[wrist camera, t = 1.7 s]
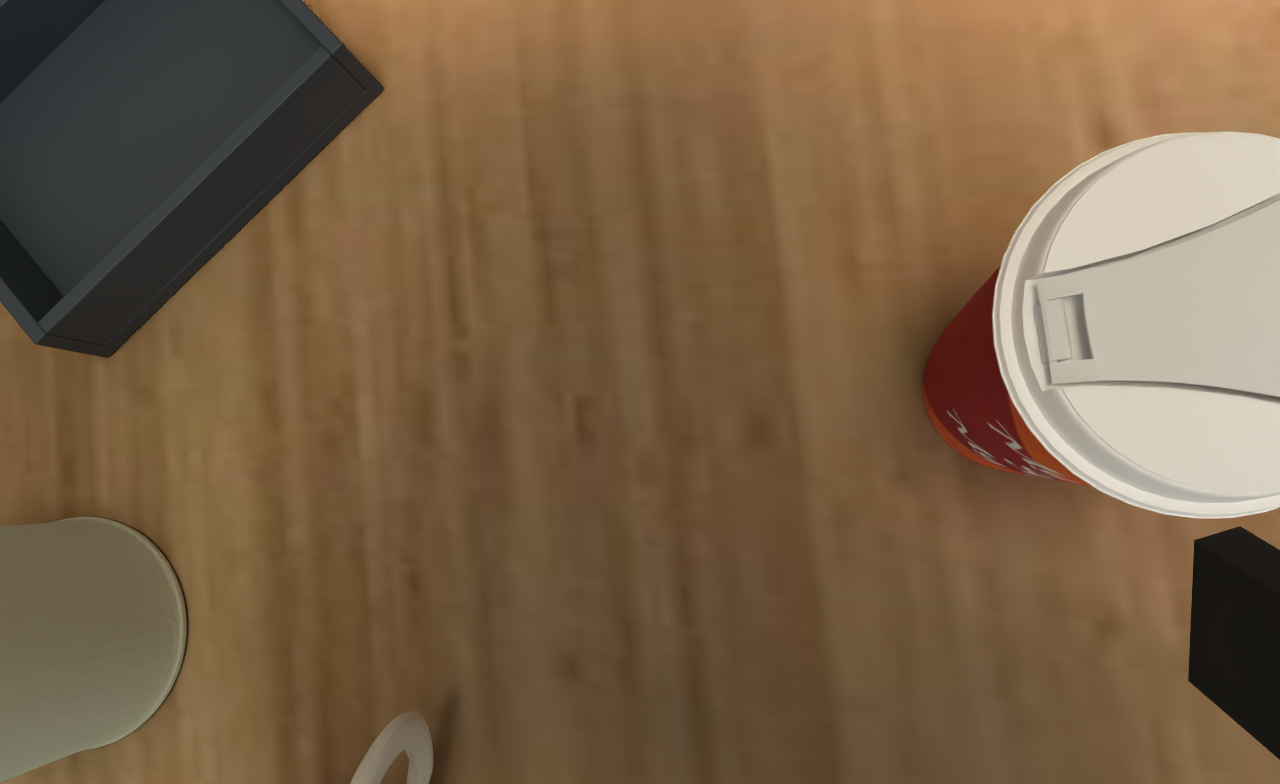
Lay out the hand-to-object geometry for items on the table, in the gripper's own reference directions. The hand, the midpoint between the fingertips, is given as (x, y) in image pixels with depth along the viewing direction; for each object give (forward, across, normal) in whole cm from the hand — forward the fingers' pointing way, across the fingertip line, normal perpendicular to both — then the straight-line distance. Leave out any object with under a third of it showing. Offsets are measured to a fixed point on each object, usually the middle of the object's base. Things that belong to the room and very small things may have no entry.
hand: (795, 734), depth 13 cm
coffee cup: (+17, +14, -5) cm, 23 cm away
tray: (+32, -16, +10) cm, 37 cm away
